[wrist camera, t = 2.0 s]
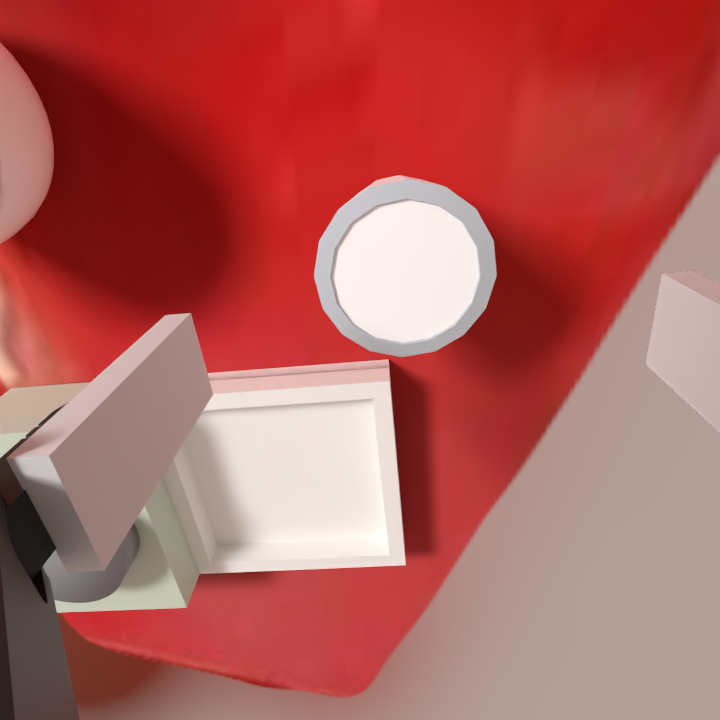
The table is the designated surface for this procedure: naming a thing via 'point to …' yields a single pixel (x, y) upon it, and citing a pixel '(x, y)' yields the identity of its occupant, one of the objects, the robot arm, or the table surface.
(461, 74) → the table surface
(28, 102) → the lidded jar
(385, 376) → the knobbed tray panel
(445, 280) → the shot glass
